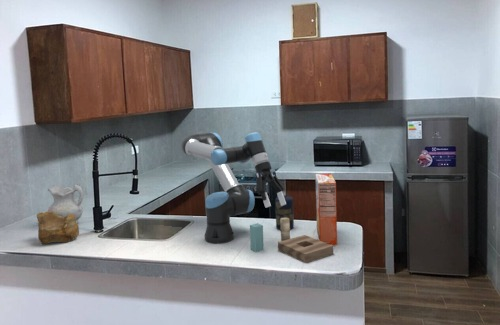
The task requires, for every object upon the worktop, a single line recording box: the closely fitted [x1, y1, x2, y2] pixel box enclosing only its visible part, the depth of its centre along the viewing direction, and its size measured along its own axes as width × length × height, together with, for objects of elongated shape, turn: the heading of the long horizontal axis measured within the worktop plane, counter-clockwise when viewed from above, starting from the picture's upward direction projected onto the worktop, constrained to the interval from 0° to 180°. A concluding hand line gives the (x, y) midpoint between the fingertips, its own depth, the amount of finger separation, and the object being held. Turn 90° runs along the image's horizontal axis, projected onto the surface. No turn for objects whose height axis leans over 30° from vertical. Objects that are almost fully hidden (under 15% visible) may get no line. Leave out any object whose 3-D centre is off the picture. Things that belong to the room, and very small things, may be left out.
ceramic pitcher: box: [47, 184, 84, 225], centre depth 269 cm, size 22×20×25 cm
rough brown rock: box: [36, 210, 80, 245], centre depth 240 cm, size 23×17×15 cm
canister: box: [274, 194, 295, 230], centre depth 243 cm, size 10×10×18 cm
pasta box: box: [315, 173, 338, 246], centre depth 225 cm, size 23×8×30 cm, turn 175°
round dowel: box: [280, 218, 291, 241], centre depth 220 cm, size 4×4×12 cm
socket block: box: [277, 234, 334, 264], centre depth 207 cm, size 20×16×4 cm
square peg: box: [249, 222, 265, 253], centre depth 213 cm, size 4×4×12 cm
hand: (276, 205), depth 211 cm, fingers open, 13 cm apart
